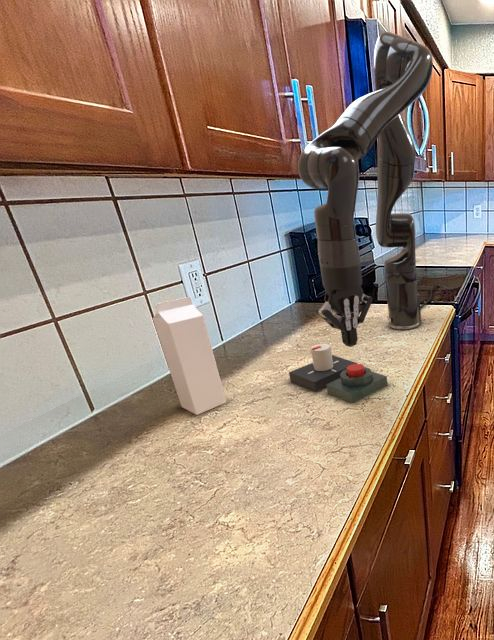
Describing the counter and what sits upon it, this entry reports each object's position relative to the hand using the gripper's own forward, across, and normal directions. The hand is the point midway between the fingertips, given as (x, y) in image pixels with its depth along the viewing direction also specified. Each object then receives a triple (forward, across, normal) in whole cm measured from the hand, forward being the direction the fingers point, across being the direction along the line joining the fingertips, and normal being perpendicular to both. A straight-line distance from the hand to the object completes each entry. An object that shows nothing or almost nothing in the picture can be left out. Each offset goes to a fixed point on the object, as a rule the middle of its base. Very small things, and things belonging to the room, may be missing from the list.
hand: (350, 345), depth 88 cm
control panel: (+10, 0, +10) cm, 15 cm away
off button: (+7, 0, -1) cm, 7 cm away
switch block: (+10, 0, -1) cm, 10 cm away
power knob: (+8, 0, +10) cm, 13 cm away
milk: (+11, -22, +20) cm, 32 cm away
